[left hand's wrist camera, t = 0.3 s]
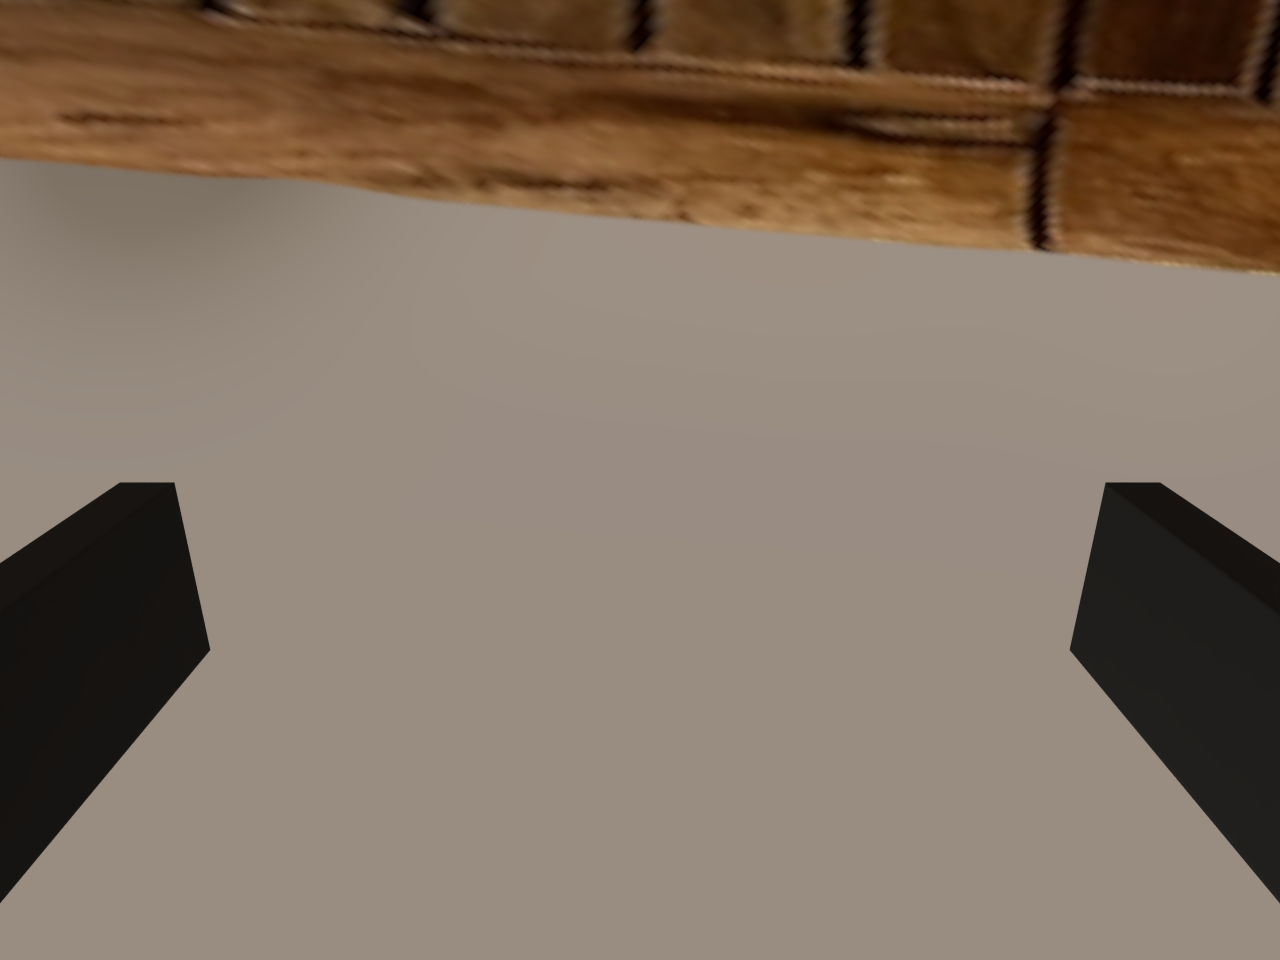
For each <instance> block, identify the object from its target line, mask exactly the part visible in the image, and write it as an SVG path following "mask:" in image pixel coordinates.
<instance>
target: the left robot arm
mask: <svg viewBox="0 0 1280 960" xmlns="http://www.w3.org/2000/svg"><path fill="white" fill-rule="evenodd" d="M209 651H210V646H209V642H208V637H207V632H206V628H205V623H204V618H203V614H202V609H201V604H200V600H199V595H198V590H197V586H196V581H195V576H194V572H193V567H192V562H191V558H190V553H189V549H188V544H187V539H186V535H185V530H184V525H183V521H182V516H181V511H180V507H179V502H178V497H177V493H176V488H175V483H119V484H117V485H116V486H114V487H113V488H111V489H110V490H108V491H107V492H105V493H104V494H102V495H101V496H99V497H98V498H96V499H95V500H93V501H92V502H90V503H89V504H87V505H86V506H84V507H83V508H81V509H80V510H78V511H77V512H75V513H74V514H73V515H71V516H70V517H68V518H67V519H65V520H64V521H62V522H61V523H59V524H58V525H56V526H55V527H53V528H52V529H50V530H49V531H47V532H46V533H44V534H43V535H41V536H40V537H38V538H37V539H35V540H34V541H32V542H31V543H29V544H28V545H27V546H25V547H24V548H22V549H21V550H19V551H18V552H16V553H15V554H13V555H12V556H10V557H9V558H7V559H6V560H4V561H3V562H1V563H0V903H1V902H2V900H3V899H4V898H5V897H6V896H7V894H8V893H9V892H10V891H11V889H12V888H13V887H14V886H15V885H16V883H17V882H18V881H19V880H20V879H21V877H22V876H23V875H24V874H25V873H26V871H27V870H28V869H29V868H30V867H31V865H32V864H33V863H34V862H35V861H36V859H37V858H38V857H39V856H40V855H41V853H42V852H43V851H44V850H45V849H46V847H47V846H48V845H49V844H50V842H51V841H52V840H53V839H54V838H55V836H56V835H57V834H58V833H59V832H60V830H61V829H62V828H63V827H64V826H65V824H66V823H67V822H68V821H69V820H70V818H71V817H72V816H73V815H74V813H75V812H76V811H77V810H78V809H79V808H80V806H81V805H82V804H83V803H84V801H85V800H86V799H87V798H88V797H89V795H90V794H91V793H92V792H93V791H94V789H95V788H96V787H97V786H98V785H99V783H100V782H101V781H102V780H103V779H104V777H105V776H106V775H107V774H108V773H109V771H110V770H111V769H112V768H113V767H114V765H115V764H116V763H117V762H118V760H119V759H120V758H121V757H122V756H123V754H124V753H125V752H126V751H127V750H128V748H129V747H130V746H131V745H132V744H133V742H134V741H135V740H136V739H137V738H138V736H139V735H140V734H141V733H142V732H143V730H144V729H145V728H146V727H147V726H148V724H149V723H150V722H151V721H152V720H153V718H154V717H155V716H156V715H157V714H158V712H159V711H160V710H161V709H162V708H163V706H164V705H165V704H166V703H167V701H168V700H169V699H170V698H171V697H172V695H173V694H174V693H175V692H176V691H177V689H178V688H179V687H180V686H181V685H182V683H183V682H184V681H185V680H186V679H187V677H188V676H189V675H190V674H191V672H192V671H193V670H194V669H195V668H196V666H197V665H198V664H199V663H200V662H201V661H202V659H203V658H204V657H205V656H206V654H207V653H208V652H209ZM1070 651H1071V652H1072V653H1073V654H1074V656H1075V657H1076V658H1077V659H1078V660H1079V662H1080V663H1081V664H1082V665H1083V667H1084V668H1085V669H1086V670H1087V671H1088V673H1089V674H1090V675H1091V676H1092V677H1093V679H1094V680H1095V681H1096V682H1097V683H1098V685H1099V686H1100V687H1101V688H1102V689H1103V691H1104V692H1105V693H1106V694H1107V695H1108V697H1109V698H1110V699H1111V700H1112V701H1113V703H1114V704H1115V705H1116V706H1117V708H1118V709H1119V710H1120V711H1121V712H1122V714H1123V715H1124V716H1125V717H1126V718H1127V720H1128V721H1129V722H1130V723H1131V724H1132V726H1133V727H1134V728H1135V729H1136V730H1137V732H1138V733H1139V734H1140V735H1141V736H1142V738H1143V739H1144V740H1145V741H1146V742H1147V744H1148V745H1149V746H1150V747H1151V748H1152V750H1153V751H1154V752H1155V753H1156V754H1157V756H1158V757H1159V758H1160V759H1161V760H1162V762H1163V763H1164V764H1165V765H1166V767H1167V768H1168V769H1169V770H1170V771H1171V773H1172V774H1173V775H1174V776H1175V777H1176V779H1177V780H1178V781H1179V782H1180V783H1181V785H1182V786H1183V787H1184V788H1185V789H1186V791H1187V792H1188V793H1189V794H1190V795H1191V797H1192V798H1193V799H1194V800H1195V802H1196V803H1197V804H1198V805H1199V806H1200V808H1201V809H1202V810H1203V811H1204V812H1205V814H1206V815H1207V816H1208V817H1209V818H1210V820H1211V821H1212V822H1213V823H1214V824H1215V826H1216V827H1217V828H1218V829H1219V830H1220V832H1221V833H1222V834H1223V835H1224V836H1225V838H1226V839H1227V840H1228V841H1229V842H1230V844H1231V845H1232V846H1233V847H1234V849H1235V850H1236V851H1237V852H1238V853H1239V855H1240V856H1241V857H1242V858H1243V859H1244V861H1245V862H1246V863H1247V864H1248V865H1249V867H1250V868H1251V869H1252V870H1253V871H1254V873H1255V874H1256V875H1257V876H1258V877H1259V879H1260V880H1261V881H1262V882H1263V883H1264V885H1265V886H1266V887H1267V888H1268V889H1269V891H1270V892H1271V893H1272V894H1273V895H1274V897H1275V898H1276V899H1277V900H1278V901H1279V903H1280V563H1279V562H1277V561H1276V560H1274V559H1273V558H1271V557H1270V556H1268V555H1267V554H1265V553H1264V552H1262V551H1261V550H1259V549H1258V548H1256V547H1255V546H1253V545H1252V544H1251V543H1249V542H1248V541H1246V540H1245V539H1243V538H1242V537H1240V536H1239V535H1237V534H1236V533H1234V532H1233V531H1231V530H1230V529H1228V528H1227V527H1225V526H1224V525H1222V524H1221V523H1219V522H1218V521H1216V520H1215V519H1213V518H1212V517H1210V516H1209V515H1207V514H1206V513H1205V512H1203V511H1201V510H1200V509H1199V508H1197V507H1196V506H1194V505H1193V504H1191V503H1190V502H1188V501H1187V500H1185V499H1184V498H1182V497H1181V496H1179V495H1178V494H1176V493H1175V492H1173V491H1172V490H1170V489H1169V488H1167V487H1166V486H1164V485H1163V484H1161V483H1105V488H1104V493H1103V497H1102V502H1101V507H1100V511H1099V516H1098V521H1097V525H1096V530H1095V535H1094V539H1093V544H1092V548H1091V553H1090V558H1089V563H1088V567H1087V572H1086V576H1085V581H1084V586H1083V590H1082V595H1081V600H1080V604H1079V609H1078V614H1077V618H1076V623H1075V628H1074V632H1073V637H1072V642H1071V646H1070Z"/></svg>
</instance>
